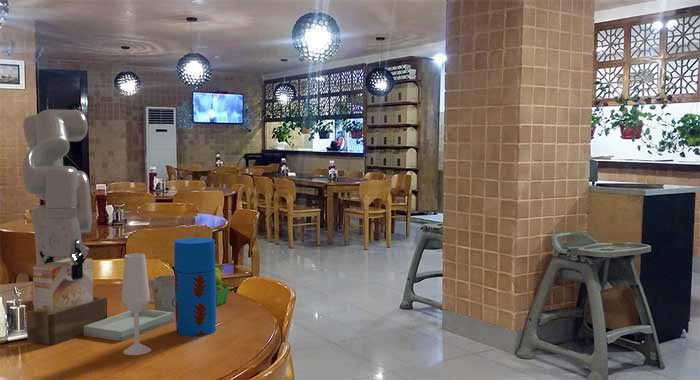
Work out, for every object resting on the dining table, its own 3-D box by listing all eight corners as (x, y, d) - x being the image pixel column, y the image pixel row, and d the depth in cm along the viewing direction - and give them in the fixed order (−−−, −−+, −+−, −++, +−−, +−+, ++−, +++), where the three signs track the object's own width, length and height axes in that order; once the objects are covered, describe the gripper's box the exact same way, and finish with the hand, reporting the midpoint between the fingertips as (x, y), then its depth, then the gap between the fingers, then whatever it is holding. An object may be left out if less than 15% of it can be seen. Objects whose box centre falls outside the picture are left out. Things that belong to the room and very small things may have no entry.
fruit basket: (187, 304, 213) (187, 269, 212) (203, 298, 221) (203, 264, 220) (218, 307, 209) (217, 271, 208) (233, 301, 217) (233, 266, 216)
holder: (27, 341, 174) (26, 311, 173) (84, 322, 191) (83, 295, 191) (51, 345, 170) (50, 314, 170) (107, 326, 188) (106, 298, 187)
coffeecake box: (54, 342, 173) (52, 267, 172) (33, 339, 176) (30, 266, 174) (95, 327, 187) (93, 258, 186) (75, 324, 190) (73, 256, 188)
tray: (83, 335, 179) (83, 326, 179) (137, 316, 199) (137, 307, 198) (121, 341, 174) (121, 331, 174) (173, 321, 193) (173, 312, 193)
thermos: (180, 338, 176) (179, 244, 174) (171, 328, 186) (170, 239, 184) (221, 333, 181) (220, 241, 179) (210, 323, 191) (209, 236, 189)
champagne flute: (124, 356, 162) (121, 258, 160) (121, 348, 168) (119, 253, 166) (152, 353, 165) (150, 256, 163) (149, 345, 171) (147, 252, 169)
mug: (172, 314, 201) (171, 281, 200) (133, 312, 203) (133, 279, 202) (184, 307, 209) (184, 275, 208) (147, 305, 211) (146, 274, 210)
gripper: (26, 214, 179) (28, 277, 180) (75, 216, 172) (77, 282, 173) (49, 211, 186) (51, 272, 187) (97, 213, 179) (98, 277, 180)
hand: (63, 277), depth 180 cm, fingers open, 9 cm apart
